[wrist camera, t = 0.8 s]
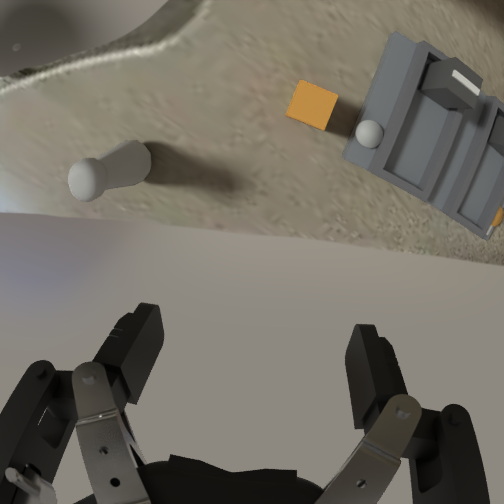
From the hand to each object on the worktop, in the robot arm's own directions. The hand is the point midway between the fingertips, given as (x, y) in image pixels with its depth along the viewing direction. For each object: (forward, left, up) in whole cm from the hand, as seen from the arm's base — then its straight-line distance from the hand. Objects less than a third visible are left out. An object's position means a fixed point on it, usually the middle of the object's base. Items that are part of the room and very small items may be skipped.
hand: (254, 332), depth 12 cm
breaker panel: (-15, +19, -27) cm, 36 cm away
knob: (-20, +13, -24) cm, 34 cm away
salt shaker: (+3, -18, -27) cm, 32 cm away
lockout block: (-10, 0, -27) cm, 28 cm away
